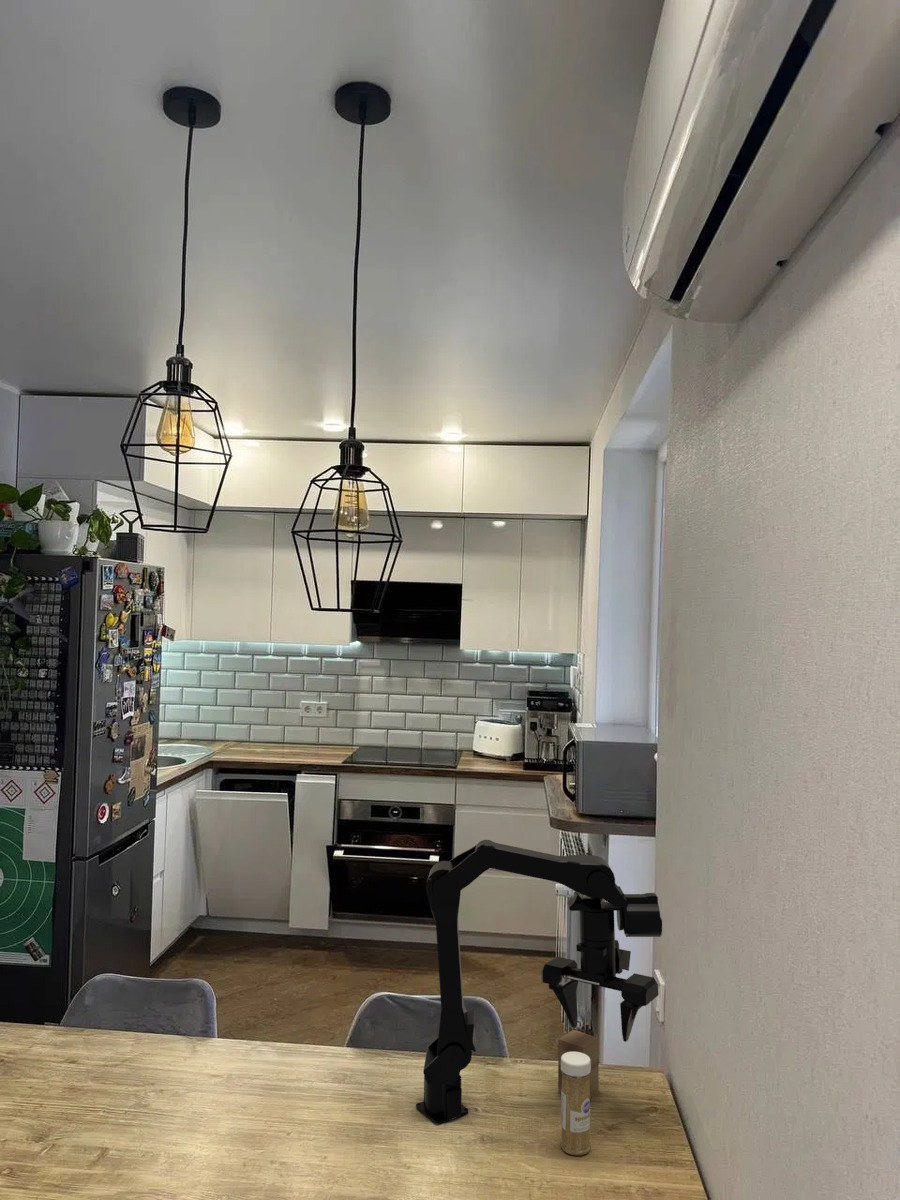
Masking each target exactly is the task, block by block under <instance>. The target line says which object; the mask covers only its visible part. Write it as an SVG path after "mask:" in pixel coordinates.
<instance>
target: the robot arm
mask: <svg viewBox="0 0 900 1200" xmlns="http://www.w3.org/2000/svg"><path fill="white" fill-rule="evenodd" d="M489 869H493V870H498V871H503V872H507V873H511V874H517V875H522V876H527V877H531V878H536V879H541V880H545V881H550V882H554V883H555V882H556V883H558V884H560V885H563V886H565V887H566V888H568V889H570V890H572V891H574V892H575V894H574V895H573V896H572V897H571V898H570V899H569V900H568V901H567V902H566V904H567V906H568V909H569V911H571V912H579V913H578V914H579V943H577V944H576V952H580V953H579V954H580V956H579V957H580V968H578V963H577V962H576V960H574V959H570V958H566V957H561V956H556V957H555V958H552V959H551V960H549V961H548V962H546V963H545V964H544V965H543V966H542V968H541V971H540V973H541V974H540V976H541V977H540V978H541V982H542V983H543V984H547V985H548V989H549V990H552V991H553V992H554V995H555V996H556V997H557V999H558V1001H559V1002H560V1005H561V1007H562V1009H563V1011H564V1013H565V1015H566V1018H567V1019H568V1021H569V1023H570V1025H571V1028H573V1029H575V1028H577V1026H578V1015H579V1014H578V999H577V991H578V990H577V988H578V985H579V982H580V983H583V984H588V985H591V986H597V987H601V988H606V989H611V990H615V991H619V992H621V993H620V994H621V995H620V996H621V998H622V1000H623V1001H621V1002H619V1005H620V1007H619V1009H620V1020H621V1021H620V1022H621V1023H620V1024H621V1035H622V1040H623V1042H625V1043H626V1042H629V1039H630V1035H631V1032H632V1029H633V1026H634V1022H635V1020H636V1017H637V1014H638V1011H639V1009H641V1008H642V1007H647V1006H648V1005H649V1004H650V1003H651V1002H652V1001H654V1000H655V999H656V998H657V997H658V996H659V984H658V982H657V980H656V978H655V977H653V976H649V975H644V974H641V973H640V974H639V973H633V974H632V975H630V976H629V977H627V978H622V977H619V976H617V975H621V973H623V971H630V962H631V953H632V951H631V950H627V949H622V948H620V943H619V940H618V939H616V933H615V932H616V929H615V912H616V923H617V928H618V931H623V934H624V935H625V937H626V938H661V937H662V934H663V918H662V917H661V909H660V906H659V897H658V896H657V894H656V892H646V893H634V894H633V893H624V891H623V889H622V887H621V886H619V885H618V884H616V877H615V873H614V872H613V870H612V869H611V866H610V865H609V863H608V862H607V861H606V859H604V858H603V857H601V856H599V855H594V854H592V855H589V854H571V855H556V854H550V853H547V852H541V851H536V850H533V849H532V850H531V849H527V848H523V847H518V846H512V845H509V844H503V843H499V842H495V841H492V840H491V839H482V840H480V841H478V843H477V844H475V845H474V846H472V847H471V848H469V849H467V850H466V851H463V852H461V853H459V854H457V855H456V856H455V857H453V858H452V859H450V860H449V861H448V860H441V861H438V862H437V863H435V864H434V865H433V866H432V867H431V869H430V871H429V874H428V877H427V879H426V883H425V886H426V887H425V889H426V893H427V894H426V895H427V899H428V903H429V907H430V910H431V913H432V917H433V920H434V924H435V930H436V931H435V932H436V933H435V935H436V943H437V944H436V947H437V963H438V978H439V993H440V994H439V996H440V1019H439V1026H438V1028H439V1029H438V1035H437V1037H436V1038H435V1039H434V1040H433V1041H432V1042H430V1044H429V1045H428V1046H427V1048H426V1052H425V1059H424V1065H423V1100H422V1101H420V1102H417V1103H415V1108H416V1109H417V1110H418V1111H420V1112H421V1113H422V1114H423V1115H424V1116H426V1118H428V1119H429V1120H430V1121H431V1122H433V1123H434V1124H436V1125H440V1124H442V1123H445V1122H448V1121H451V1120H453V1119H456V1118H460V1117H463V1115H467V1114H469V1108H468V1107H466V1106H465V1105H464V1104H462V1100H463V1099H462V1096H463V1095H462V1093H463V1091H462V1090H463V1089H462V1075H461V1071H462V1070H464V1069H465V1068H467V1066H469V1064H470V1063H471V1061H472V1055H473V1052H476V1051H477V1031H476V1029H475V1014H476V1013H475V1010H474V1009H473V1010H467V1008H466V1006H465V1005H466V1004H465V1002H464V993H463V992H464V991H463V978H462V975H463V974H462V964H461V963H462V961H461V959H462V958H461V948H460V946H461V945H460V932H459V912H460V910H459V909H460V902H461V901H460V900H461V891H462V890H464V889H465V888H467V887H468V886H469V885H471V884H472V883H474V881H475V880H477V878H479V877H480V876H482V874H483V873H485V872H486V871H488V870H489ZM582 895H583V896H582ZM584 896H586V897H584ZM602 899H603V900H604V901H601V900H602Z"/></svg>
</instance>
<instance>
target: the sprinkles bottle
mask: <svg viewBox="0 0 900 1200" xmlns="http://www.w3.org/2000/svg"><path fill="white" fill-rule="evenodd" d="M590 1071H591V1060H590V1058H589V1056H587V1055H586V1054H584V1053H581V1052H567V1053H564V1054H563V1055H562V1056H561V1072H562V1089H561V1094H560V1097H561V1098H560V1103H561V1104H560V1106H561V1108H560V1110H561V1111H560V1115H561V1116H560V1120H561V1121H560V1123H561V1124H560V1125H561V1141H560V1147H561V1149H562V1150H563V1151H564V1152H565V1153H567V1155H568V1154H569V1155H572V1156H583V1155H587V1154H588V1153H589V1152H590V1150H591V1142H590V1141H591V1140H590V1139H591V1138H590V1137H591V1136H590V1133H591V1132H590V1128H591V1101H590V1099H591V1098H590V1087H589V1086H590V1083H589V1082H590V1081H589V1080H590V1079H589V1078H590V1076H589V1075H590Z"/></svg>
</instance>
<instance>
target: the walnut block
mask: <svg viewBox="0 0 900 1200" xmlns="http://www.w3.org/2000/svg"><path fill="white" fill-rule="evenodd" d="M557 1041H558V1042H557V1043H558V1044H557V1045H558V1049H557V1051H558V1052H557V1053H558V1055H557V1057H558V1058H557V1060H558V1063H557V1064H558V1066H557V1068H558V1069H557V1070H558V1072H557V1073H558V1075H557V1076H558V1077H557V1080H558V1081H557V1083H558V1084H557V1086H558V1087H557V1093H558V1094H559V1095H561V1089H562V1072H561V1056H562V1055H563V1054H564V1053H567V1052H581V1053H584V1054H586V1055H587V1056H589V1058H590V1060H591V1071H590V1075H589V1076H590V1078H589V1079H590V1080H589V1081H590V1082H589V1083H590V1086H589V1087H590V1099H591V1098H592V1097H594V1096H595V1095H597V1094H598V1093H599V1092H600V1091H599V1089H600V1088H599V1086H600V1085H599V1082H600V1081H599V1079H600V1078H599V1073H600V1072H599V1069H600V1068H599V1059H600V1058H599V1054H600V1053H599V1051H600V1049H599V1045H600V1044H599V1037H597V1036H594V1035H590V1034H587V1033H586V1032H582V1031H579V1030H575V1029H573V1030H571V1031H569V1032H567V1033H566V1034H564V1035H563V1036H561V1037H559V1038H558V1039H557Z"/></svg>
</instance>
